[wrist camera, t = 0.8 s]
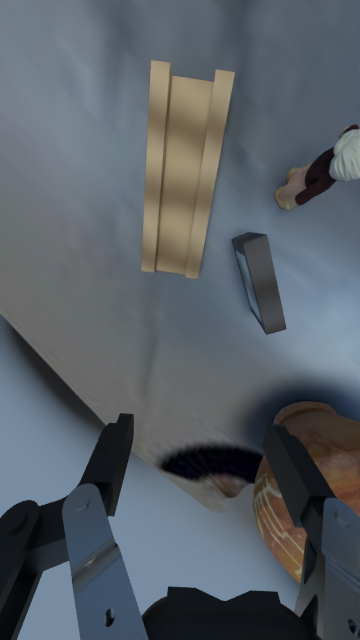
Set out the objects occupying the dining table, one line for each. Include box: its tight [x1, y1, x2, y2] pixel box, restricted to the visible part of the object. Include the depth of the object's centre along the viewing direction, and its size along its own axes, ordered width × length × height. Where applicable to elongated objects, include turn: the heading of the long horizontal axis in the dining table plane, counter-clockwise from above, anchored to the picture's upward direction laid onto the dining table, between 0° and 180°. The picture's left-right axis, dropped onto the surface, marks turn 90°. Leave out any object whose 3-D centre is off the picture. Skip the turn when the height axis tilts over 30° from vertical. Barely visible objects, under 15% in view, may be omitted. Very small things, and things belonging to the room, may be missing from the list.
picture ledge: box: [141, 60, 235, 280], centre depth 25 cm, size 20×8×4 cm, turn 172°
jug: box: [253, 401, 360, 583], centre depth 30 cm, size 28×28×30 cm
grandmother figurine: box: [275, 124, 360, 211], centre depth 19 cm, size 8×4×13 cm, turn 159°
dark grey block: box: [232, 232, 286, 335], centre depth 27 cm, size 12×3×8 cm, turn 22°
